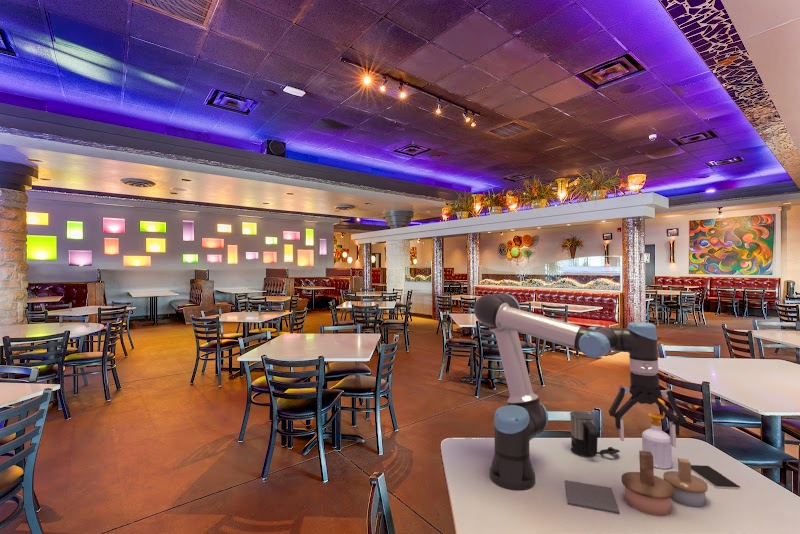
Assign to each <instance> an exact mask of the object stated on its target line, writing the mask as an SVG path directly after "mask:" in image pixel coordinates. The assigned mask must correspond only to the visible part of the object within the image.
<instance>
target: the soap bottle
mask: <svg viewBox="0 0 800 534" xmlns="http://www.w3.org/2000/svg"><path fill="white" fill-rule="evenodd" d="M658 400H659V401H660V402H661V403H662V405H663V406H664V407H665V408H666V402H665V401H664V400H663V399H661V398H660V397H659V398H658ZM647 415H648V417H649V418H651V419H652V421H650V428H648V429H645V430H644V431H643V432H642V433H641V441H642V445H641V446H642V451H648V452H651V453H652V455H653V467H654V468H656V469H663V470H667V469H668V470H669V469H671V468H672V467H673V453H672V452H673V450H672V448H673V446H672V445H671V444H670V434H668V433H666V432H665V431H663V429H662V423H661V422H659V421H660V420H663V419H664V418H665V415H666V414H665V413H664V412H663V411H662V414H659V413H653V412H649V413H648V414H647Z"/></svg>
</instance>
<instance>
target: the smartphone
mask: <svg viewBox="0 0 800 534" xmlns="http://www.w3.org/2000/svg"><path fill="white" fill-rule="evenodd" d="M691 472H693V473H694V474H696V475H697V477H699V478H700V479H702V480H703V481H705V482H706V483H707V484H709V486H713V487H714V488H715V489H718V490H721V489H722V490H738V489H740V488H741V485H739V484H737V483H736V482H734V481H733V480H731V479H730V478H729V477H726V476H725V475H723V474H722V473H720V472H719V471H717V470H716V469H714V468H712V467H711V466H709V465H697V464H691ZM740 490H741V489H740Z"/></svg>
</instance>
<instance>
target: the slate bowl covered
mask: <svg viewBox="0 0 800 534" xmlns="http://www.w3.org/2000/svg"><path fill="white" fill-rule="evenodd" d="M691 465H692V463H691V461H689V459H686V458H681V457H680V458H677V470H678V471H677V470H668V471H665V472H663V474H662V477H663V478H662V479H664V480H665V481H667V482H669V483H670V484H671V485H672V486H673V488H674V496H673V497H671V501H672V500H673V501H674V502H677V503H678V504H682V505H684V506H689V507H696V508H698V507H699V508H701V507H704V506H706V504H707V503H706V492H707V491H708V482H706V481H705V480H704V479H702V478H701V477H699V476H696V475H693V474H692V471H691Z"/></svg>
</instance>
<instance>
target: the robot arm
mask: <svg viewBox="0 0 800 534" xmlns="http://www.w3.org/2000/svg"><path fill="white" fill-rule="evenodd" d="M473 312H474V316H475V318H476V320H478V321H479V322H480V323H481V324H483V325H484V326H488V327H489V331H490V332H492V333H494V336H495V340H496V343H497V347H498V351H499V356H500V359H501V364H502V369H503V371H504V376H505V380H506V383H507V384H506V385H507V388H508V392H509V397H508V399H507V400H506V401H507V402H506V403H507V405H503V406H500V407H498V408H497V409H496V410H495V412H494V418H493V427H494V432H493V434H494V435H493V436H494V455H493V458H492V461H491V464H490V468H489V477H490V480H491V482H493V483H494V484H496V485H498V486H500V487H502V488H504V489H508V490H514V491H515V490H516V491H517V490H518V491H519V490H520V491H523V490H529V489H531V488H533V487H534V486H535V484H536V473H535V470H534V467H533V464H532V460H531V458H530V455H531V454H530V442H531V440H533V439H535V437H536V436H539V435H540V434H541V433H543V432H544V430H545V428H546V427H547V425H548V423H549V413H548V410H547V409H546V407H545V405H544V404H543V403H541V401H540V398H539V395H537V394H535V392H534V391H533V387H532V383H531V379H530V375H529V372H528V367H527V364H526V358H525V356H524V352H523V348H522V344H521V340H520V337H519V333H521V334H525V335H528V336H531V337H534V338H537V339H541V340H543V341H547V342H551V343H554V344H556V345H559V346H563V347H567V348H570V349H573V350H576V351H579V352H581V353H582V354H583V355H584V356H586V357H588V358H592V359H593V358H594V359H595V358H601V357H604V356H606V355H607V354H608V353H610V352H623V353H629V356H628V357H629V370H630V372H629V377H630V378H629V379H630V380H629V381H630V383H629V384H630V386H629V387H624V386H623V385H619V386H618V393H617V395H616V397H615V398H614V401H613V402H612V404H611V406H610V408H609V409H608V411H607V412H608V414H609V416H610V417H613V418H614V423H615V428H616V430H619V439H620V441H621V442H625V432H624V431H625V430H624V419H623V416H624V415H625V414H627V412H629V410H631V409H632V408H633V406H634V405H636V404H637V403H639V404H640V405H641V404H642V405H644V404H646V405H647V404H648V405H653V404H656V405H657V407H658V408H660V409H661V410H662V413H663V412H664V413H665V415H666V416H667V417H669V419H670V420H671V421H669V422H668V423H669V436H670V444H671V447H672V448H677V436H680V426H681V424H687V423H688V422H687V420H686V418H685V416H684V415H683V412H682V411H681V409H680V408H679V406H678V405H677V403H676V401H675V399H674V396H673V392H672V391H671V390H670V389H669V388H666V389H665V390H664V389H663V390H662V389H661V390H660V377H659V375H658V373H659V355H658V349H659V348H658V339H659V338H658V335H657V327H656V325H655V324H654V323H651V322H641V321H640V322H638V321H637V322H636V321H634V322H629V323H628V325H627V327H625V328H621V327H610V326H607V327H606V326H600V325H598V326H590V327H584V326H580V325H577V324H575V323H574V324H573V323H570V322H567V321H563V320H559V319H555V318H552V317H549V316H548V317H547V316H545V315H541V314H537V313H533V312H529V311H526V310H522V309H521V305H520V303H519V301H518V300H517V299H516V297H514V296H513V295H511V294H508V293H501V292H500V293H491V294H483V295H482V296H480V297H479V298H477V300H476V302H475V303H474V306H473ZM628 393H630V395H631V396H630V397H629V399H627V401H625V402H624V403H623V405H622V406H621V407H620V405H621V403H622V401H623V399H624V398H625V395H628ZM661 396H663V397H664V398H665V399H667V401H668V403H669V404H670V406H671V407H672V408H671V409H673V411H674V413H675V414H676V417H677V418H676V417H675V416H674V415H673V414H672V413H671V412H670V410H669V409H667V407H666V406H665V407H664V406H663V405H662V403H661V402H660V401H659V400H658V398H659V399H660V397H661ZM619 407H620V408H619Z"/></svg>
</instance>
